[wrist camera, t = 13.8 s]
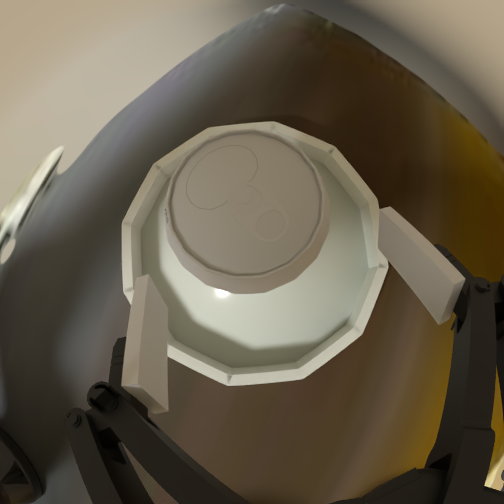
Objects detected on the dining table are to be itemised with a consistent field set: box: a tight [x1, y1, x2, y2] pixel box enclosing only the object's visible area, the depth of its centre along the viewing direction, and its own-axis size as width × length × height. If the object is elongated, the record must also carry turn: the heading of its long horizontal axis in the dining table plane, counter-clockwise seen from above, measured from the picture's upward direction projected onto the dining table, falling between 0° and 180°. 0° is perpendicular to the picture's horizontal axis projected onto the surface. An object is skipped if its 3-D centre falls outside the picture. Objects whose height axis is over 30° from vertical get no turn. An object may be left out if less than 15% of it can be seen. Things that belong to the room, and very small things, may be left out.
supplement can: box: [163, 129, 330, 294], centre depth 20 cm, size 8×8×15 cm
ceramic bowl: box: [122, 121, 388, 386], centre depth 26 cm, size 24×24×4 cm
